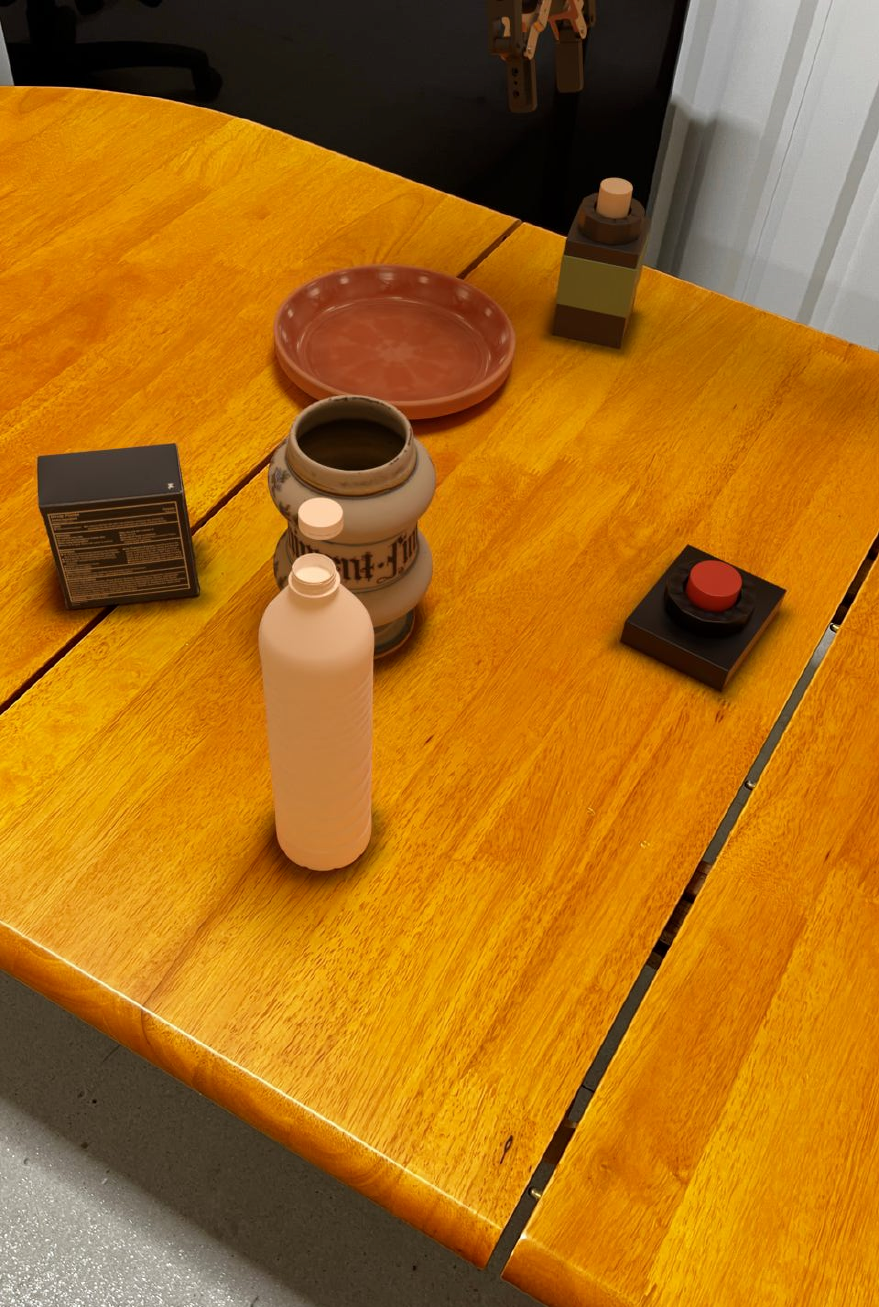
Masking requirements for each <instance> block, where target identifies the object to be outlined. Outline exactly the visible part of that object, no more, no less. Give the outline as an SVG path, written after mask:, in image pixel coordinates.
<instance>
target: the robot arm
mask: <svg viewBox="0 0 879 1307" xmlns="http://www.w3.org/2000/svg"><path fill="white" fill-rule="evenodd" d="M596 13H597V12H596V0H486V16H487V37H488V38H487V39H488V51H489V54H490V55H492V56H497V55H498V56H500V57H501V59H502V60H503V61H505V63H506V75H507V89H508V91H507V92H508V106H509V109H510V112H512V113H514V114H525V113H527V114H529V113H531V112H534V111H535V110H536V109H537V107H538V96H537V77H536V76H537V75H536V59H535V58H534V55H535V51H536V47H537V43H538V38H539V35H540V33H542V32H543V31H544V30H545V29H546V26H547V23H548V22H549V24H550V26H551V29H552V32H553V34H554V37H555V39H556V40H557V41H558V42H555V43H554V50H555V74H556V89H557V91H558V92H559V93H562V94H563V93H564V94H567V93H578V92H581V90H582V89H583V88H584V64H583V62H584V61H583V60H584V58H583V57H584V56H583V40H584V39H586V36H587V31H588V28H593V27H594V26H595V25H596V21H597V17H596V16H597V14H596ZM501 23H502V24H503V26H504V31H503V36H502V29H501V26H502V25H501ZM523 33H524V35H523Z"/></svg>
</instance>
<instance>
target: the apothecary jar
mask: <svg viewBox="0 0 879 1307" xmlns="http://www.w3.org/2000/svg"><path fill="white" fill-rule="evenodd" d="M435 468H436V467H435V465H434V462H433V459H432V456H431V455H430V453H429V451H428V449H427V448H426V447H425V446H424V445H423V443H422V442H421V441H420V440H419V439H418V438H417V437H416V436H415V435H414V431H413V427H412V425H411V422H410V421H409V420H408V419H407V418H406V416H405V415H404V414H403V413H402V412H401V411H399V410H398V409H397V408H395V407H394V406H392V405H391V404H389V403H387V402H385V401H382V400H379V399H376V398H372V397H368V396H361V395H341V396H335V397H330V398H327V399H324V400H321V401H319V400H317V401H315V402H314V403H312V404H310V405H309V406H307V407H305V408H304V409H303V410H301V411H300V413H298V414H297V415H296V417H295V418H294V419H293V421H292V424H291V426H290V429H289V434H288V435H286V437H285V438H284V439H283V440H282V441H281V442H280V443H279V444H278V446H277V447H276V449H275V451H274V453H273V454H272V455H271V459H270V461H269V465H268V470H267V487H268V491H269V492H268V493H269V495H270V498H271V500H272V502H273V504H274V506H275V508H276V509H277V510H278V512H279V513H280V514H281V516H283V518H284V519H285V520H287V528H286V529H285V530H284V531H283V533H282V534H281V535H280V538H278V541H277V544H276V546H275V549H274V552H273V559H272V569H273V575H274V579H275V583H276V585H277V587H278V589H279V591H280V592H281V591H282V590H283V589H284V588H285V587H287V586H288V585H289V582H288V578H289V575H290V573H291V571H292V569H293V568H292V566H293V564H294V562H295V561H296V560H297V559H298V558H299V557H301V556H303V555H306V554H311V553H316V554H322V555H325V556H327V557H329V558H330V559H331V560H332V561H333V563H334V564H335V567H336V570H337V572H338V573H339V576H340V584H342V585H343V586H344V587H345V588H346V589H347V590H349V591H350V592H351V593H352V594H353V595H354V596H356V597H357V598H358V599H359V600H360V602H361V603H362V604H363V605H364V607H365V608H366V609H367V611H368V613H369V615H370V619H371V622H372V625H373V630H374V654H373V661H374V660H377V659H382V658H384V657H386V656H388V655H390V654H392V653H394V652H396V651H397V650H398V649H399V648H401V647H402V646H403V645H404V644H405V643H406V642H407V641H408V639H409V638H410V636H411V634H412V632H413V630H414V626H415V621H416V619H415V618H416V613H415V607H416V606H417V605H418V604H419V603H420V602H421V601H422V600H423V598H424V596H425V595H426V593H427V592H428V589H429V587H430V585H431V582H432V578H433V572H434V560H433V554H432V551H431V547H430V544H429V543H428V541H427V539H426V537H425V535H424V534H423V533H422V531H421V530H420V529H419V528H418V527H419V526H418V523H419V522H418V521H419V520H420V519H421V517H423V515H424V514H425V513H426V512H427V510H428V509H429V507H430V505H431V504H432V503H433V502H432V501H433V499H434V497H435V493H436V489H437V488H436V487H437V473H436V469H435ZM314 498H327V499H331V500H333V501H335V502H337V503H338V504H339V505H340V506H341V508H342V510H343V529H342V531H341V532H340V533H339V534H338V535H337V536H335V537H333V538H331V539H327V540H315V539H311V538H309V537H307V536H305V535H304V534H303V533H302V532H301V531H300V529H299V524H298V510H299V508H300V506H301V505H302V504H303V503H304V502H306V501H308V500H310V499H314ZM308 534H309V533H308ZM311 535H312V534H311ZM330 535H331V534H330ZM316 536H317V535H316ZM325 536H327V535H325Z"/></svg>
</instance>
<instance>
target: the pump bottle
mask: <svg viewBox="0 0 879 1307" xmlns="http://www.w3.org/2000/svg"><path fill="white" fill-rule="evenodd" d="M598 196H599V192H594V193H592V194H590V195H588V196H585V197H584V198H583V199H582V202H581V204H580V205H579V207H578V209H577V212H576V215H575V217H574V219H573V221H572V224H571V227H570V228H569V231H568V234H567V236H566V238H565V242H564V248H563V249H564V250H563V253H564V255H566V256H571V257H576V258H581V259H586V260H591V261H596V262H601V263H606V264H611V265H616V266H620V267H625V268H630V269H636V268H637V265H638V262H639V259H640V256H641V253H642V250H643V247H644V244H645V241H646V238H647V235H648V233H650V232H649V231H650V227H651V221H652V218H651V217H649V216H648V217H647V216H645V212H646V209H645V208H644V206H643V205H642V204H641V202H640V201H638V200H637V199H635V198H633V197H631V201H630V206H629V211H628V215H627V216H626V217H624V218H609V217H604V216H603V215H601V214H599V213H597V211H596V208H597V202H598ZM637 290H638V289H637ZM637 290H636V293H635V296H634V299H633V302H632V305H631V308H630V311H629V314H628V317H627V318H624V317H619V316H614V315H610V314H605V313H600V312H595V311H590V310H586V309H581V308H576V307H571V306H566V305H561V304H557V303H556V302H555V310H554V317H553V324H552V329H551V335H552V336H555V337H559V338H565V339H568V340H573V341H579V342H584V343H588V344H594V345H598V346H602V347H607V348H611V349H617V350H621V347H622V344H623V342H624V340H625V336H626V332H627V329H628V326H629V323H630V320H631V317H632V314H633V310H634V305H635V300H636V296H637Z"/></svg>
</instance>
